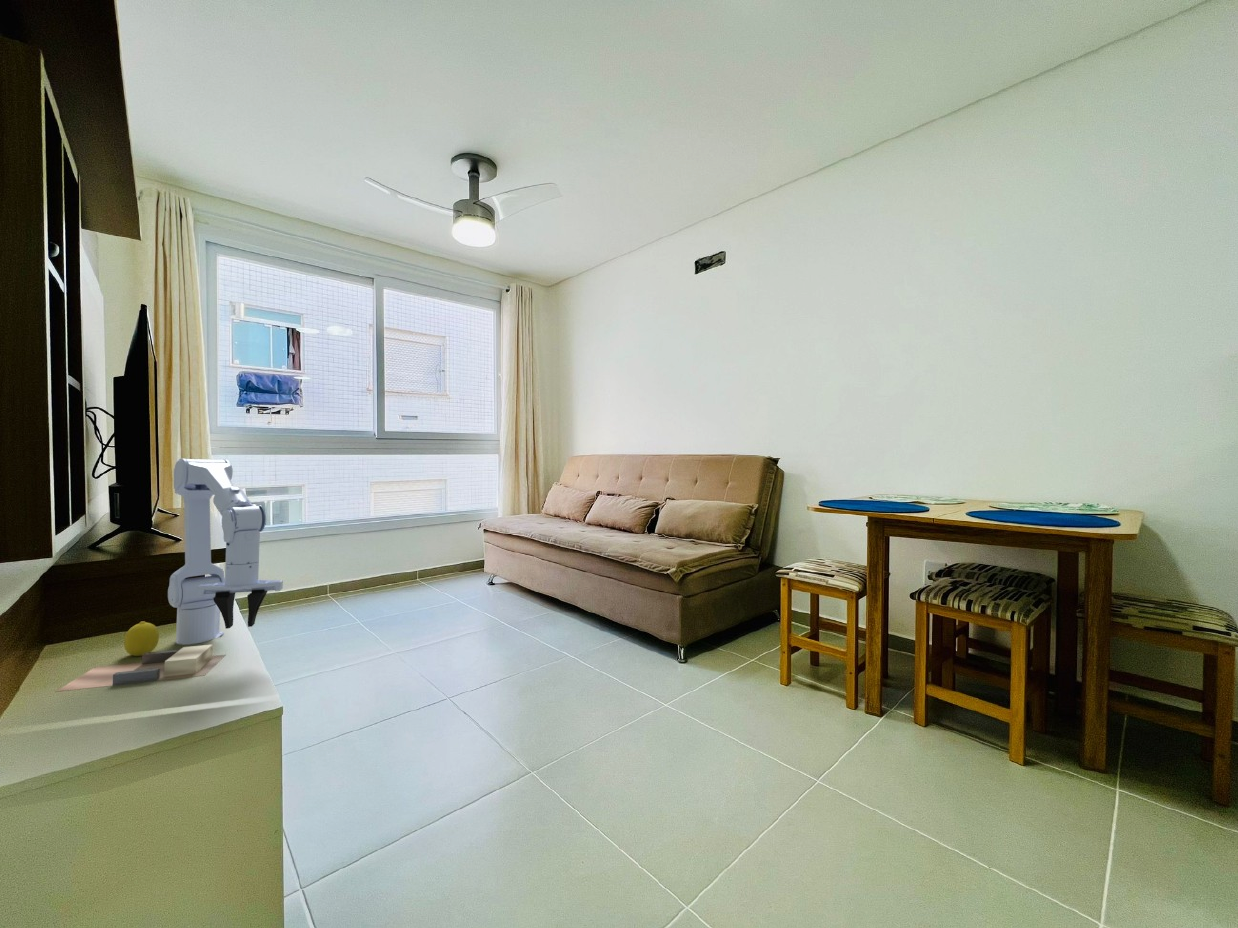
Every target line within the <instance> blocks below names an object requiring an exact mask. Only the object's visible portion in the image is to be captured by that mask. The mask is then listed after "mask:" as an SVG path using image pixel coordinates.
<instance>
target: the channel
mask: <svg viewBox="0 0 1238 928" xmlns="http://www.w3.org/2000/svg"><path fill="white" fill-rule="evenodd" d="M179 650H180V649H174V650H161V651H151V652H149V653H144V654H143V655H142V656H141V657H142V658H141V663H142V664H152V663H162V662H165V661H166V660H167V659H169V658H170V657H171V656H173V655H174V654H175V653H177V652H178V651H179ZM159 678H160V668H155V669H145V670H135V671H125V672H116V673H115V674H113V685H115V686H121V684H124V685H130V684H131V683H133V684H141V683H140V682H142V683H149V681H152V682H158V681H157V680H158V679H159ZM131 685H132V684H131Z"/></svg>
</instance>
